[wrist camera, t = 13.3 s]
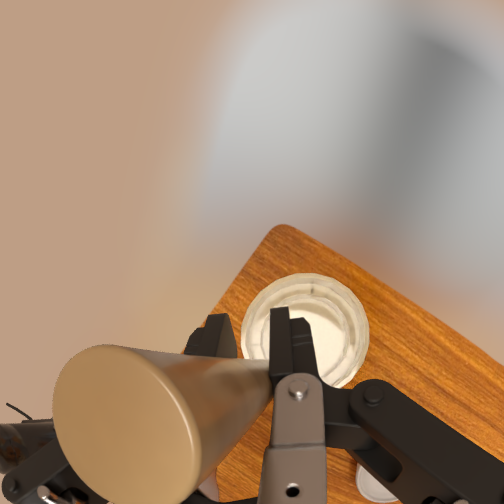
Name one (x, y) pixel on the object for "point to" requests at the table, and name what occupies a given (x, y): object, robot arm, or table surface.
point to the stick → (154, 418)
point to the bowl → (313, 323)
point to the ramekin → (372, 487)
